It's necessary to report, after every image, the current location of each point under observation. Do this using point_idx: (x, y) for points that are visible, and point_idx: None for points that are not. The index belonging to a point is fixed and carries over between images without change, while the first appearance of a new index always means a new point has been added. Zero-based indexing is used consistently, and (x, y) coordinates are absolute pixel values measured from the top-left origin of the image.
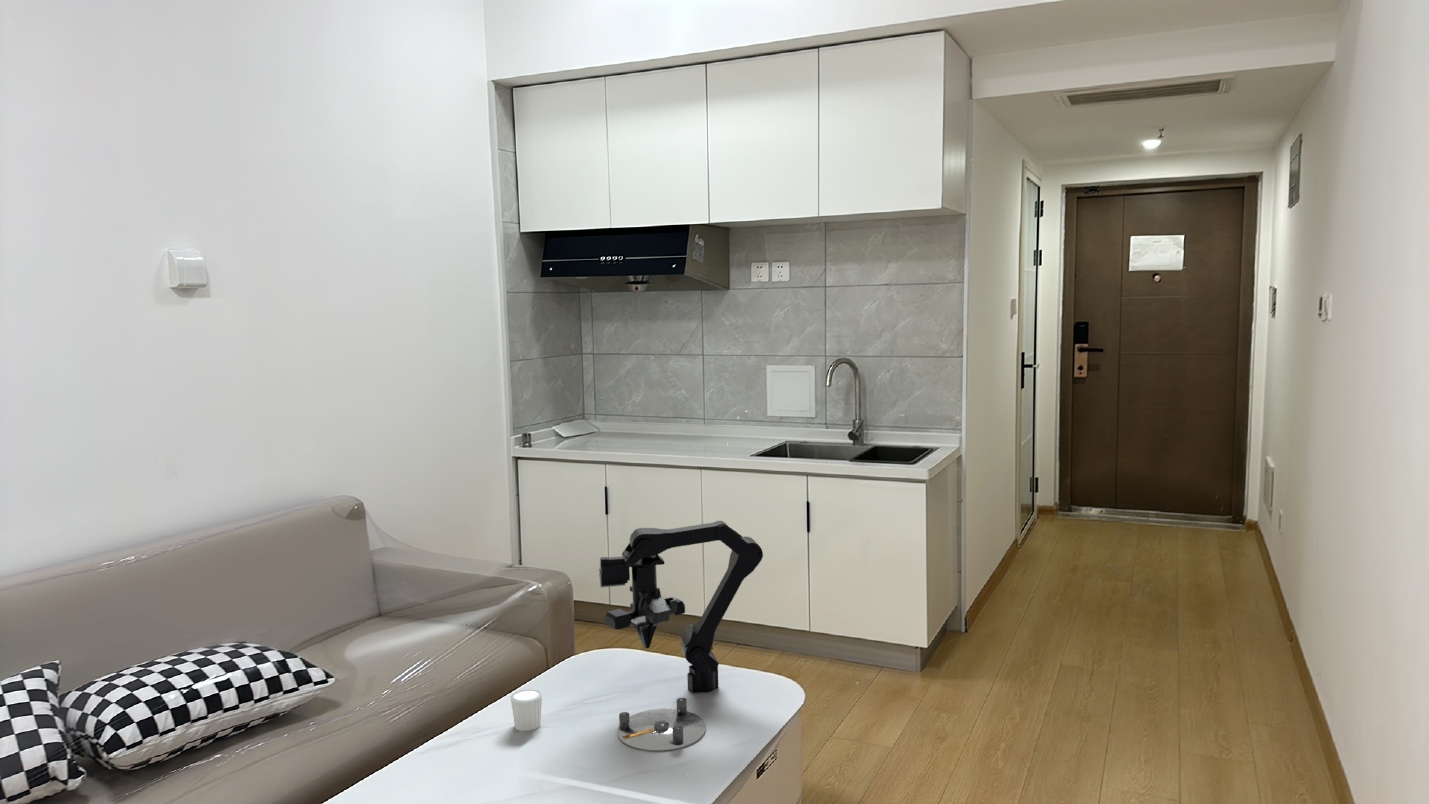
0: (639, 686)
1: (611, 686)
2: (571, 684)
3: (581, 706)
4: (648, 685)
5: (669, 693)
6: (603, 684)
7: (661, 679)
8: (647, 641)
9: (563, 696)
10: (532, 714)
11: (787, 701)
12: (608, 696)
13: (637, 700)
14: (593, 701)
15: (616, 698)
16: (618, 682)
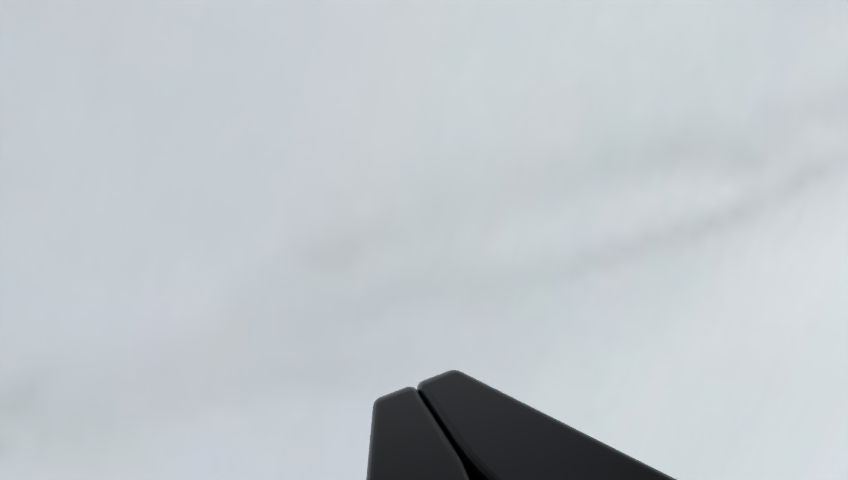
0: (282, 345)
1: None
2: (701, 462)
3: (792, 110)
4: (197, 348)
5: (3, 112)
6: None
7: (43, 445)
8: (514, 476)
9: (809, 305)
10: None
11: None
12: (570, 223)
13: (376, 60)
14: (693, 168)
15: (529, 166)
16: None
